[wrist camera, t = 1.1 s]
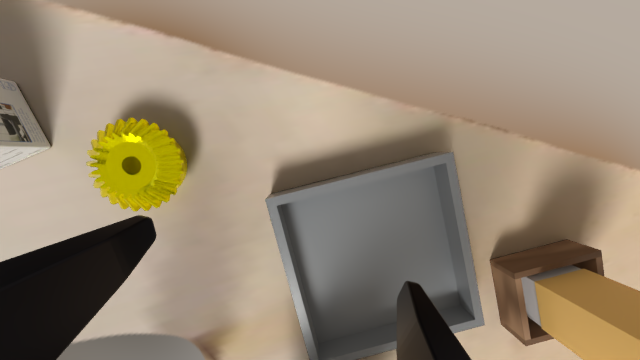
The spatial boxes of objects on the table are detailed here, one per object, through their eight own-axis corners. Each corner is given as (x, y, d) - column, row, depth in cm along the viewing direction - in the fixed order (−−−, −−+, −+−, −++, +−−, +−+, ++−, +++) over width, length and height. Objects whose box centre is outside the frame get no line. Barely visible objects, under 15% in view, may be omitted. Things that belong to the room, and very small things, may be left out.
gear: (121, 111, 22) (103, 192, 23) (83, 102, 18) (64, 199, 19) (206, 136, 23) (186, 214, 23) (186, 132, 19) (163, 225, 20)
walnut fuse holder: (575, 304, 26) (609, 323, 23) (501, 324, 26) (525, 346, 23) (567, 239, 26) (601, 250, 23) (489, 259, 25) (514, 273, 22)
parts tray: (464, 305, 26) (484, 324, 23) (312, 345, 25) (312, 371, 22) (435, 152, 24) (453, 151, 21) (270, 193, 24) (265, 199, 21)
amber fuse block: (558, 297, 26) (766, 415, 14) (514, 308, 26) (688, 437, 14) (552, 255, 26) (763, 341, 14) (508, 266, 26) (682, 364, 14)
